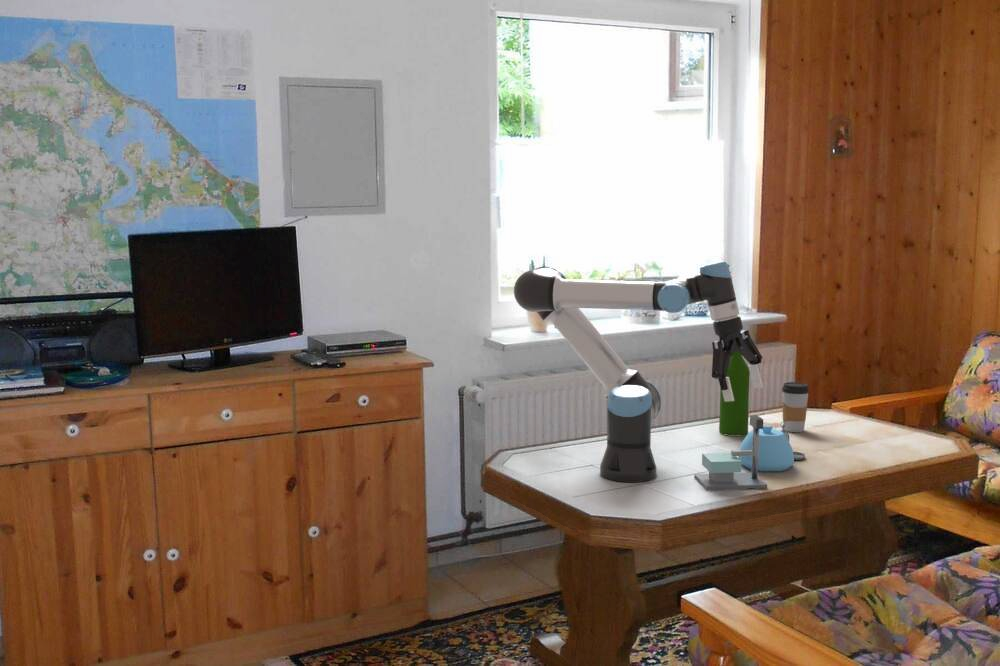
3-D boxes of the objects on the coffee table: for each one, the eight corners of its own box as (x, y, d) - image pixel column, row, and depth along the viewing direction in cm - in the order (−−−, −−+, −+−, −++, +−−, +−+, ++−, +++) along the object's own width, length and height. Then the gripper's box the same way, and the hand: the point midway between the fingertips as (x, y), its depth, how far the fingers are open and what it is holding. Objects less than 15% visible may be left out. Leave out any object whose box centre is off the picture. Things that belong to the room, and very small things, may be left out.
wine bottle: (753, 435, 307) (756, 332, 302) (726, 437, 305) (730, 333, 300) (739, 428, 316) (743, 328, 311) (714, 430, 314) (717, 329, 309)
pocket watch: (806, 461, 277) (807, 427, 276) (775, 460, 279) (776, 425, 278) (803, 454, 285) (804, 420, 284) (773, 452, 287) (774, 419, 286)
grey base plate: (706, 490, 251) (706, 475, 251) (694, 477, 262) (694, 463, 262) (767, 488, 253) (767, 473, 252) (752, 476, 264) (753, 461, 263)
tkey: (734, 481, 255) (736, 420, 252) (728, 475, 260) (730, 415, 257) (761, 480, 255) (763, 419, 253) (754, 474, 260) (756, 415, 258)
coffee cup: (810, 433, 309) (812, 387, 307) (784, 433, 309) (786, 387, 307) (802, 427, 317) (804, 381, 315) (777, 427, 317) (778, 381, 315)
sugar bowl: (731, 459, 280) (732, 419, 279) (782, 458, 281) (784, 418, 280) (747, 474, 266) (748, 432, 264) (801, 473, 267) (803, 431, 265)
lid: (710, 473, 252) (711, 461, 252) (701, 464, 260) (702, 453, 260) (741, 472, 253) (741, 461, 253) (731, 463, 261) (731, 452, 260)
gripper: (709, 327, 254) (728, 406, 255) (763, 306, 270) (781, 381, 271) (687, 330, 259) (705, 407, 261) (741, 310, 275) (758, 383, 277)
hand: (744, 394), depth 266 cm, fingers open, 13 cm apart
